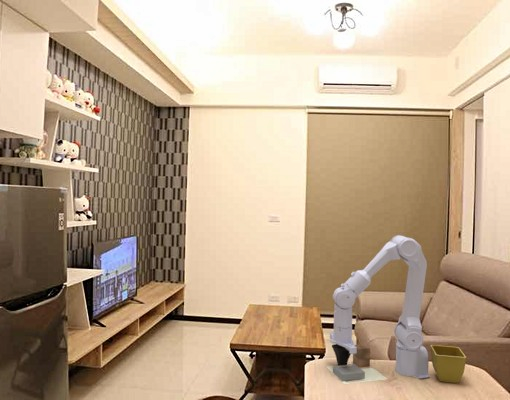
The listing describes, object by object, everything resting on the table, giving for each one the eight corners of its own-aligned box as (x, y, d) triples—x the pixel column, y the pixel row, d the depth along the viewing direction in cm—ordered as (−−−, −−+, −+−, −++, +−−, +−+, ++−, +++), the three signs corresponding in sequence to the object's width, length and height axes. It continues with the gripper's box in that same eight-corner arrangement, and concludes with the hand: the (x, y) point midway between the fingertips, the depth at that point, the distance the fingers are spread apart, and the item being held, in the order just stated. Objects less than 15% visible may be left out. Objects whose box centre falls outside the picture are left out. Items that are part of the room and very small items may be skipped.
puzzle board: (363, 363, 144) (363, 360, 144) (387, 382, 130) (387, 378, 130) (323, 368, 140) (323, 364, 140) (344, 387, 126) (344, 383, 126)
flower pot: (466, 387, 128) (466, 357, 127) (435, 384, 129) (435, 354, 129) (458, 374, 136) (459, 346, 136) (429, 372, 138) (429, 344, 138)
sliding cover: (354, 370, 136) (354, 363, 136) (364, 378, 130) (364, 371, 130) (332, 372, 134) (332, 365, 134) (342, 381, 128) (342, 374, 128)
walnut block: (363, 361, 143) (363, 343, 142) (369, 366, 139) (370, 348, 139) (352, 362, 141) (353, 344, 141) (358, 367, 138) (359, 349, 138)
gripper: (321, 320, 142) (321, 360, 142) (342, 334, 128) (341, 379, 128) (340, 318, 144) (340, 358, 144) (363, 332, 130) (362, 376, 130)
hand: (342, 368), depth 136 cm, fingers closed
